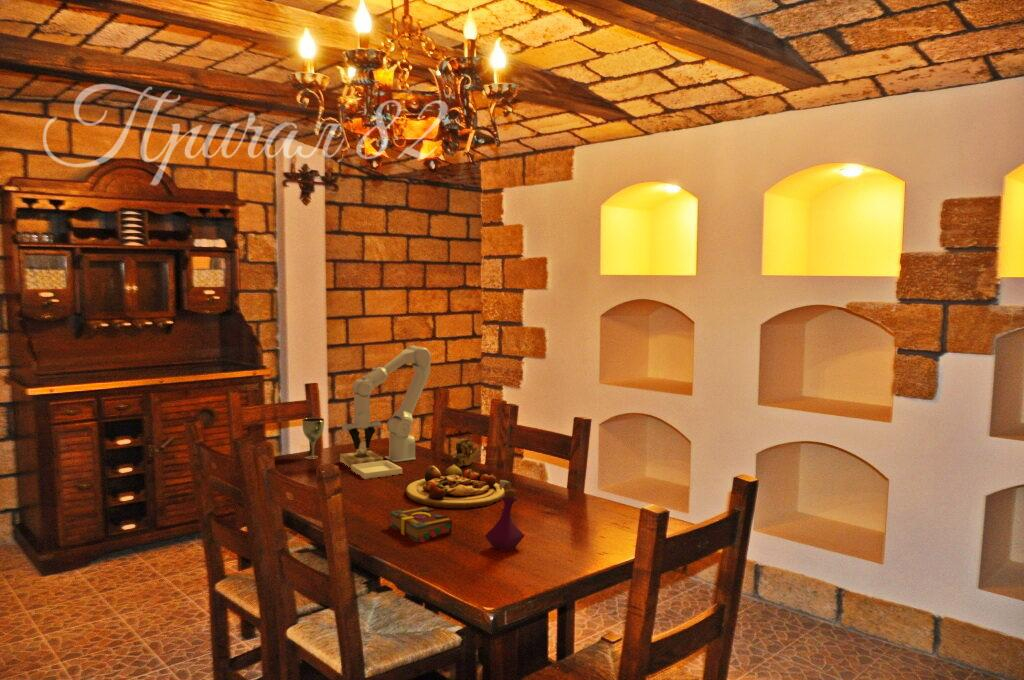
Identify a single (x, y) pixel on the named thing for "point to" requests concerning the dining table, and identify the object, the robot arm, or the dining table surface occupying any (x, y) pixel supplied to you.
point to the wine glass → (313, 431)
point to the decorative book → (421, 523)
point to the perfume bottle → (505, 524)
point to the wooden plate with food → (455, 488)
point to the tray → (376, 469)
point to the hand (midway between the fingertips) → (361, 448)
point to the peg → (362, 447)
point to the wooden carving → (464, 452)
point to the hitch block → (352, 458)
